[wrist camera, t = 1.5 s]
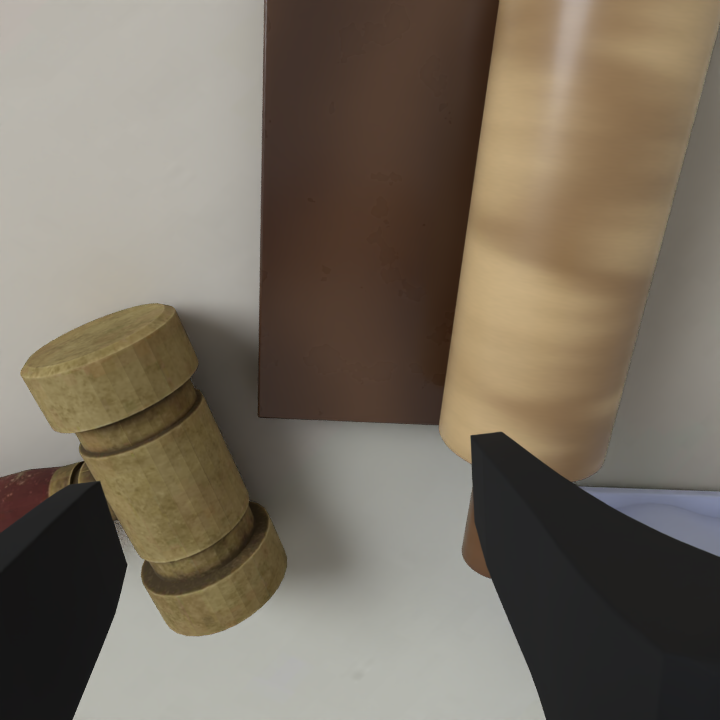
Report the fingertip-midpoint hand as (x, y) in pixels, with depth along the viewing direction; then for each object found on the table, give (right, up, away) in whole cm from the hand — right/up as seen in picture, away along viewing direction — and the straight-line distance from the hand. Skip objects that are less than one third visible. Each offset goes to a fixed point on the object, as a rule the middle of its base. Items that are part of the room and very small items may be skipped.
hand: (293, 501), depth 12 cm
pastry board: (+4, +8, +8) cm, 12 cm away
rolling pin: (+6, +6, +4) cm, 10 cm away
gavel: (-13, -2, +11) cm, 17 cm away
